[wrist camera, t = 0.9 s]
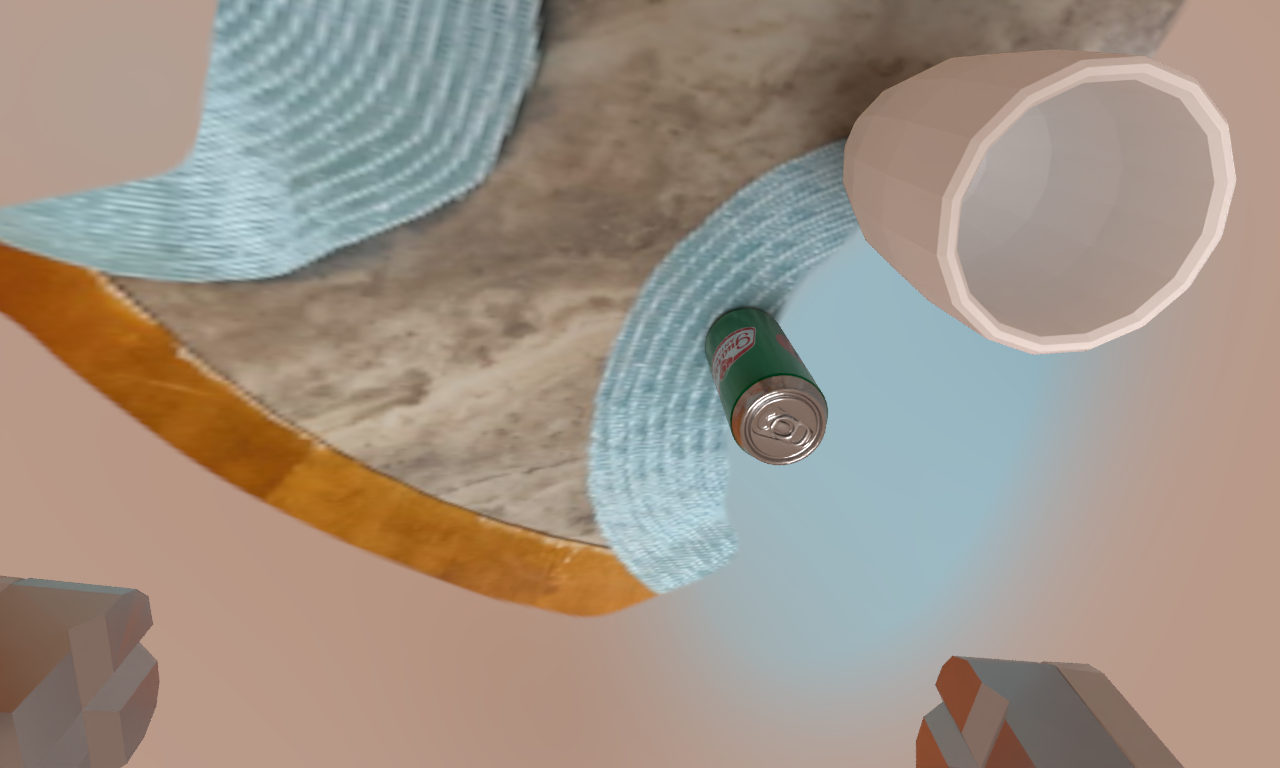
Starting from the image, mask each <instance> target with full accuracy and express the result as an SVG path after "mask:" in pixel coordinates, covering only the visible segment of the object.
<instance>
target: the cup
mask: <svg viewBox="0 0 1280 768" xmlns="http://www.w3.org/2000/svg"><path fill="white" fill-rule="evenodd" d="M843 184H844V187H845V190H846V192H847V195H848V198H849V201H850V203H851V206H852V209H853V212H854V214H855V216H856V219H857V221H858V223H859V226H860V228H861V230H862V233H863V235H864V237H865V240H866V241H867V242H868V243H869V244H870V245H871V246H872V247H873V248H874V249H875V250H876V251H877V252H878V253H879V254H880V255H881V256H882V257H883V258H884V259H885V260H886V261H887V262H888V263H889V264H890V265H891V266H892V267H893V268H894V269H895V270H896V271H897V272H899V273H900V274H901V275H902V276H903V277H904V278H905V279H906V280H907V281H908V282H909V283H910V284H911V285H912V286H913V287H915V289H917V290H918V291H919V292H920V293H921V294H922V295H923V296H924V297H925V298H926V299H927V300H928V301H930V302H931V303H933V304H935V305H936V306H938V307H939V308H941V309H942V310H943V311H945V312H946V313H948V314H950V315H951V316H953V317H954V318H956V319H957V320H959V321H960V322H962V323H963V324H965V325H966V326H968V327H970V328H971V329H972V330H974V331H976V332H977V333H979V334H980V335H982V336H983V337H985V338H986V339H989V340H992V341H995V342H998V343H1001V344H1004V345H1007V346H1010V347H1012V348H1015V349H1018V350H1021V351H1024V352H1027V353H1031V354H1033V355H1034V354H1048V353H1062V352H1075V351H1087V350H1089V349H1091V348H1094V347H1096V346H1098V345H1101V344H1103V343H1105V342H1108V341H1110V340H1113V339H1115V338H1117V337H1119V336H1122V335H1124V334H1127V333H1129V332H1131V331H1134V330H1136V329H1138V328H1141V327H1143V326H1144V325H1145V324H1146V323H1148V322H1149V321H1150V320H1151V319H1152V318H1154V317H1155V316H1156V315H1157V314H1158V313H1159V312H1161V311H1162V310H1163V309H1164V308H1165V307H1167V306H1168V305H1169V304H1170V303H1171V302H1172V301H1174V300H1175V299H1176V298H1177V297H1178V296H1179V295H1181V294H1182V293H1183V292H1184V291H1185V290H1187V289H1188V288H1189V287H1190V285H1191V284H1192V282H1193V281H1194V279H1195V277H1196V276H1197V274H1198V273H1199V271H1200V269H1201V268H1202V267H1203V265H1204V263H1205V262H1206V260H1207V259H1208V257H1209V256H1210V254H1211V253H1212V251H1213V249H1214V248H1215V246H1216V245H1217V244H1218V242H1219V240H1220V239H1221V237H1222V234H1223V230H1224V226H1225V222H1226V219H1227V215H1228V211H1229V207H1230V203H1231V199H1232V195H1233V191H1234V187H1235V184H1236V175H1235V169H1234V162H1233V155H1232V148H1231V141H1230V134H1229V127H1228V122H1227V120H1226V119H1225V117H1224V116H1223V115H1222V113H1221V112H1220V111H1219V109H1218V108H1217V106H1216V105H1215V104H1214V102H1213V101H1212V100H1211V98H1210V97H1209V96H1208V94H1207V93H1206V91H1205V90H1204V89H1203V87H1202V86H1201V85H1200V83H1199V82H1198V81H1197V79H1196V78H1194V77H1192V76H1189V75H1187V74H1185V73H1183V72H1180V71H1178V70H1176V69H1173V68H1171V67H1169V66H1166V65H1164V64H1162V63H1159V62H1157V61H1155V60H1153V59H1150V58H1148V57H1146V56H1139V55H1126V54H1112V53H1099V52H1086V51H1072V50H1059V49H1056V50H1041V51H1025V52H1010V53H997V54H986V55H975V56H965V57H954V58H950V59H947V60H945V61H943V62H941V63H939V64H937V65H935V66H933V67H931V68H929V69H927V70H925V71H923V72H921V73H919V74H917V75H915V76H913V77H911V78H909V79H906V80H904V81H902V82H900V83H898V84H896V85H894V86H892V87H890V88H888V89H886V90H884V91H883V92H882V93H881V94H880V95H879V96H878V97H877V98H876V99H875V100H874V101H873V102H872V103H871V104H870V106H869V107H868V108H867V109H866V110H865V111H864V112H863V113H862V114H861V115H860V116H859V117H858V119H857V120H856V122H855V123H854V126H853V128H852V130H851V133H850V135H849V137H848V140H847V142H846V144H845V149H844V169H843Z"/></svg>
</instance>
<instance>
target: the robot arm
mask: <svg viewBox="0 0 1280 768" xmlns="http://www.w3.org/2000/svg"><path fill="white" fill-rule="evenodd" d="M152 625H153V621H152V615H151V609H150V603H149V597H148V596H147V595H145V594H144V593H142V592H140V591H139V590H137V589H130V588H121V587H111V586H101V585H92V584H83V583H73V582H63V581H54V580H44V579H34V578H28V579H22V578H16V577H7V576H0V768H120V767H122V766H123V765H125V764H127V762H128V761H129V759H130V758H131V756H132V755H133V753H134V752H135V750H136V749H137V747H138V746H139V744H140V743H141V741H142V740H143V738H144V736H145V734H146V731H147V728H148V726H149V723H150V721H151V718H152V716H153V713H154V710H155V708H156V704H157V696H158V688H159V672H158V662H157V660H156V659H155V658H154V657H153V656H152V655H151V654H150V653H149V652H148V651H147V650H146V649H145V648H144V647H143V645H142V644H141V643H140V642H139V641H140V640H141V638H142V637H143V636H144V635H145V634H146V632H147V631H148V630H149V629H150V627H151V626H152ZM935 685H936V687H937V690H938V692H939V694H940V696H941V698H942V700H943V702H942V703H941V704H939V705H938V706H937V707H936V708H934V709H933V710H932V711H931V712H929V713H928V714H927V715H925V716H924V717H923V720H922V724H921V727H920V730H919V733H918V737H917V740H916V768H1184V767H1183V766H1182V765H1181V763H1180V762H1179V761H1178V760H1177V759H1176V758H1175V756H1174V755H1173V754H1172V753H1171V752H1170V751H1169V749H1168V748H1167V747H1166V746H1165V745H1164V744H1163V742H1162V741H1161V740H1160V739H1159V738H1158V736H1157V735H1156V734H1155V733H1154V732H1153V731H1152V729H1151V728H1150V727H1149V726H1148V725H1147V724H1146V722H1145V721H1144V720H1143V719H1142V718H1141V717H1140V715H1139V714H1138V713H1137V712H1136V711H1135V710H1134V708H1133V707H1132V706H1131V705H1130V704H1129V703H1128V701H1127V700H1126V699H1125V698H1124V697H1123V695H1122V694H1121V693H1120V692H1119V691H1118V690H1117V689H1116V687H1115V686H1114V685H1113V684H1112V683H1111V681H1110V680H1109V679H1108V678H1107V677H1106V676H1105V674H1103V673H1102V672H1101V671H1099V670H1097V669H1096V668H1094V667H1092V666H1090V665H1089V664H1078V663H1060V662H1041V663H1038V662H1027V661H1014V660H1000V659H987V658H974V657H960V656H952V657H951V658H950V659H949V660H948V661H947V662H946V663H945V664H944V665H943V666H942V669H941V671H940V674H939V676H938V679H937V682H936V684H935Z"/></svg>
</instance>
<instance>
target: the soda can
mask: <svg viewBox="0 0 1280 768" xmlns="http://www.w3.org/2000/svg"><path fill="white" fill-rule="evenodd" d="M705 353H706V358H707V361H708V364H709V367H710V370H711V373H712V376H713V379H714V382H715V385H716V388H717V391H718V394H719V397H720V400H721V403H722V406H723V409H724V412H725V415H726V418H727V421H728V423H729V426H730V429H731V432H732V435H733V437H734V440H735V441H736V443H737V444H738V445H739V446H740V448H741V449H742V450H744V451H745V452H746V453H747V454H749V455H751V456H753V457H755V458H756V459H758V460H760V461H762V462H764V463H767V464H773V465H787V464H792V463H795V462H798V461H800V460H802V459H804V458H806V457H807V456H808V455H810V454H811V453H812V452H813V451H814V450H815V449H816V448H817V447H818V445H819V444H820V442H821V440H822V438H823V436H824V433H825V429H826V424H827V418H828V408H827V403H826V400H825V397H824V395H823V394H822V392H821V390H820V389H819V387H818V386H817V384H816V382H815V381H814V379H813V378H812V376H811V375H810V373H809V371H808V370H807V368H806V367H805V365H804V363H803V362H802V360H801V359H800V357H799V356H798V354H797V353H796V351H795V349H794V348H793V346H792V345H791V343H790V342H789V340H788V339H787V337H786V335H785V334H784V332H783V331H782V329H781V327H780V326H779V324H778V323H777V322H776V321H775V319H773V318H772V317H771V316H770V315H768V314H766V313H765V312H762V311H760V310H755V309H739V310H735V311H732V312H730V313H728V314H726V315H724V316H723V317H721V318H720V319H719V320H718V321H717V322H716V323H715V324H714V325H713V327H712V328H711V330H710V331H709V334H708V336H707V339H706V344H705Z"/></svg>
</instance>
